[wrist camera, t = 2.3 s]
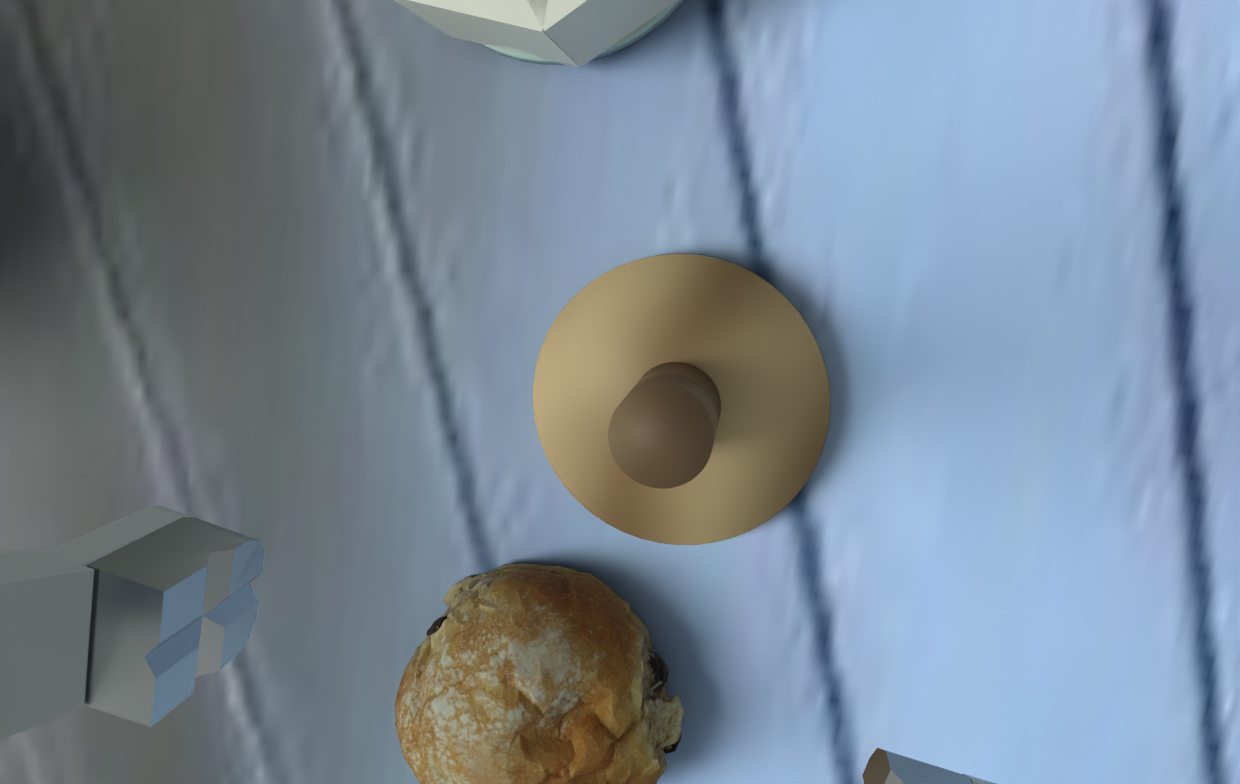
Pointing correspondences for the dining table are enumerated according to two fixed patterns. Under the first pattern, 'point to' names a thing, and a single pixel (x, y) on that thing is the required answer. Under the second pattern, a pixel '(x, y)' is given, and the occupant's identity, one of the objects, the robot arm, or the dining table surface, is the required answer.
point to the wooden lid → (681, 399)
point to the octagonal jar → (546, 25)
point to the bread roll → (536, 686)
